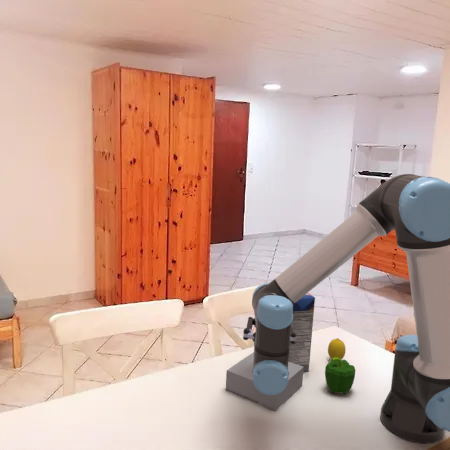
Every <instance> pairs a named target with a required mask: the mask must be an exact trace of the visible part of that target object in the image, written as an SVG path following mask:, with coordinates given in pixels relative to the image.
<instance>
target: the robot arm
mask: <svg viewBox="0 0 450 450" xmlns="http://www.w3.org/2000/svg"><path fill="white" fill-rule="evenodd" d="M392 231H395V238H396V244H397V245H396V246H397V248H399V249H400V250H402V251H403V252H404V253H405V254H406V255H405V256H406V262H407V263H406V264H407V270H408V271H407V272H408V277H409V278H408V279H409V284H410V293H411V301H412V308H413V309H412V310H413V315H414V322H415V323H414V324H415V329H416V334H405V335H403V336H400V337H399V338H397V340H396V345H395V348H394V351H395V352H394V358H393V367H392V375H391V385H390V391H389V392H388V393H387V395H386V398H385V400H384V402H383V403H382V405H381V408H380V414H379V415H380V416H379V418H380V421H381V424H382V425H383V426H384V427H385V428H386V429H387V430H388V431H390V432H391V433H392V434H394V435H396V436H398V437H400V438H402V439H405V440H408V441H411V442H416V443H421V442H422V444H423V443H425V444H426V442H431V443H435V441H436V442H438V441H440V440H441V439H443V438H444V436H445V431H446V432H450V183H449V182H448V181H445V180H444V179H441V178H438V177H433V176H423V175H416V174H412V173H403V174H398V175H396V176H393V177H391V178H390V179H388V180H386V181H384V182H383V183H382V184H381V185H380V186H378V187H377V188H376V189H375V190H373V191H372V192H371V193H370V194H368V195H367V196H366V197H365V198H363V200H361V201H359V203H357V205H356V210H355V212H354V213H353V214H351V215H350V216H348V218H346V219H345V220H344V221H343V222H342V223H340V225H338V226H336V228H335V229H333V230H332V231H331V232H329V233H328V234H327V235H326V236H324V237H323V238H322V239H321V240H320V241H318V242H317V243H316V244H315V245H314V246H313V247H311V248H310V249H309V250H307V252H306V253H304V254H303V255H302V256H301V257H299V258H298V259H297V260H296V261H295V262H293V263H292V264H291V265H290V266H289V267H288V268H286V269H285V270H284V271H283V272H281V273H280V274H279V275H278V276H276V277H275V278H274V279H272V281H270V282H269V283H268V282H267V283H262V284H260V285H258V286H257V287H256V288H255V289H254V291H253V293H252V300H251V306H252V309H253V314H254V317H252V316H249V317H248V319H247V324H246V327H245V328H243V334H242V339H243V340H244V341H248V340H252V341H253V352H254V360H253V370H252V377H253V383H254V385H255V387H256V388H257V389H258V390H259V391H260V392H261V393H263V394H266V395H277V394H279V393H281V392H282V391H284V389H285V388H286V387H287V384H288V378H289V371H288V361H289V346H290V343H291V344H295V338H296V334H295V333H294V332H293V330H292V320H293V304H295V303H296V302H297V301H298V300H299V299H301V298H302V297H303V296H304V295H306V294H307V293H310V292H311V291H312V290H314V288H315V287H317V286H318V285H319V284H321V283H322V282H323V281H325V279H326V278H328V277H329V276H330V275H332V274H333V273H334V272H336V271H337V270H338V269H339V268H341V267H342V266H343V265H344V264H345V263H347V262H348V261H349V260H350V259H352V258H353V257H354V256H355V255H357V254H358V253H359V252H360V251H361V250H363V249H365V247H366V246H367V245H369V244H370V243H371V242H373V241H374V240H375V239H376V238H378V237H386V236H387V235H389V234H390V233H391V232H392ZM253 326H254V328H255V332H253V331H252V330H253Z"/></svg>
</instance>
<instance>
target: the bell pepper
mask: <svg viewBox="0 0 450 450" xmlns="http://www.w3.org/2000/svg"><path fill="white" fill-rule="evenodd" d="M324 375H325V376H324V377H325V381H326V382H325V383H326V386H327V388H328V390H329V391H330V392H331V393H336V394H338V393H340V394H344V395H346V394H348V393H349V392H350V391H351V389H352V387H353V385H354V381H355V377H356V368H355V366H354V365H353V364H350V363H349V362H348V361H347V360H346V359H339V358H336V357H335V358H332V359H331V360H329V362H328V363H327V364H326V366H325V369H324Z"/></svg>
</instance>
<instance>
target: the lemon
mask: <svg viewBox="0 0 450 450" xmlns="http://www.w3.org/2000/svg"><path fill="white" fill-rule="evenodd" d="M327 354H328V356H329V358H330V359H331V360H332V358H335V357H336V358H339V359H341V360H343V359H344V357H345V355H346V345H345V342H344V341H343V340H341V339H340V338H334V339H332V340H331V341H330V342H329V344H328V347H327Z"/></svg>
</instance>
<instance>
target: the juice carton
mask: <svg viewBox="0 0 450 450" xmlns="http://www.w3.org/2000/svg"><path fill="white" fill-rule="evenodd" d="M315 301H316V297H315V296H314V295H312V294H311V293H310V292H308V293H307V294H306V295H304V296H303V297H302V298H301V299H299V300H298V301H297V302H296V303H295V304H293V320H292V330H293V332H294V333H295V334H296V338H295V344H291V343H290V346H289V361H288V362H291V363H294V364H297V365H300V366H303V367H304V370H303V373H306V372H310V360H311V349H312V347H311V346H312V335H313V325H314V316H315V315H314V314H315V313H314V312H315V303H316V302H315Z"/></svg>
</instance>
